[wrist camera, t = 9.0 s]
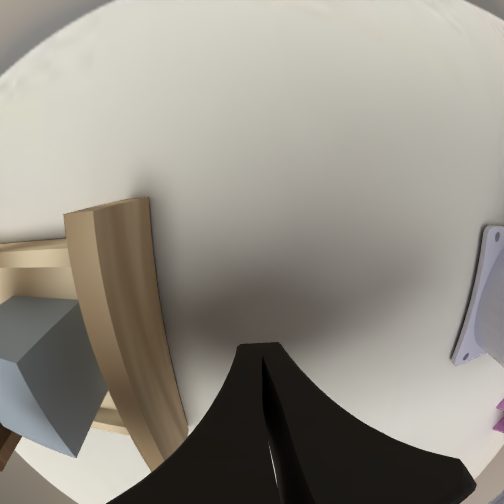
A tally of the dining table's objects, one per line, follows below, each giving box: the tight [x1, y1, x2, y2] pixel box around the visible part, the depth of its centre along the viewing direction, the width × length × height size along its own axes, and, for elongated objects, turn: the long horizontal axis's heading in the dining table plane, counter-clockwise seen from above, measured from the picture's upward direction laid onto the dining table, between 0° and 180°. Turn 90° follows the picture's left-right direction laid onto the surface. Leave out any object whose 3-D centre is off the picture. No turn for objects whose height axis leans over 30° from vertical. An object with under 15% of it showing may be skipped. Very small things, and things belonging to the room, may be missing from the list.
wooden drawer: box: [0, 197, 189, 472], centre depth 8 cm, size 11×11×4 cm
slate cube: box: [0, 295, 108, 458], centre depth 7 cm, size 4×4×4 cm
